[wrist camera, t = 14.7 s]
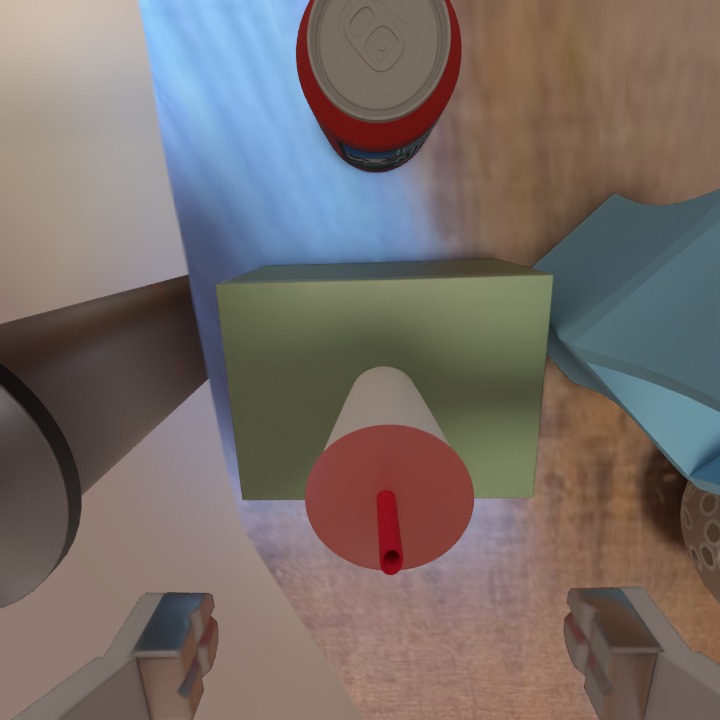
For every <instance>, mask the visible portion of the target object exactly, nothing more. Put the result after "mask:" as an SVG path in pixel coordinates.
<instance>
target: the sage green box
mask: <svg viewBox="0 0 720 720" xmlns="http://www.w3.org/2000/svg"><path fill="white" fill-rule="evenodd" d="M553 277H554V276H553V274H549V273H546V272H543V271H539V270H535V269H532V268H528V267H524V266H521V265H517V264H514V263H510V262H506V261H503V260H499V259H476V260H443V261H410V262H377V263H344V264H311V265H278V266H264V267H261V268H258V269H255V270H253V271H250V272H247V273H245V274H242V275H239V276H237V277H234V278H231V279H228V280H226V281H223V282H221V283H218V284H216V294H217V302H218V310H219V318H220V326H221V334H222V341H223V349H224V357H225V365H226V373H227V381H228V389H229V397H230V405H231V413H232V421H233V429H234V437H235V445H236V452H237V460H238V468H239V476H240V484H241V492H242V499H243V500H305V490H306V484H307V480H308V477H309V474H310V472H311V469H312V467H313V466H314V464H315V462H316V461H317V459H318V458H319V457H320V455H321V454H322V453H323V452H324V449H325V447H326V444H327V442H328V440H329V437H330V435H331V433H332V431H333V428H334V426H335V424H336V421H337V419H338V417H339V415H340V412H341V410H342V408H343V406H344V403H345V401H346V399H347V397H348V395H349V393H350V391H351V389H352V386H353V384H354V383H355V381H356V380H357V378H358V377H359V376H360V375H361V374H363V373H364V372H365V371H367V370H369V369H372V368H375V367H381V366H387V367H393V368H396V369H398V370H400V371H402V372H404V373H405V374H406V375H407V376H408V377H409V378H410V379H411V380H412V382H413V383H414V385H415V387H416V388H417V390H418V391H419V393H420V395H421V396H422V398H423V400H424V401H425V403H426V405H427V407H428V408H429V410H430V412H431V414H432V415H433V417H434V419H435V421H436V422H437V424H438V426H439V428H440V429H441V431H442V433H443V435H444V436H445V438H446V440H447V442H448V444H449V446H450V447H451V448H452V449H453V450H454V451H455V452H456V453H457V454H458V455H459V457H460V458H461V459H462V461H463V462H464V464H465V466H466V468H467V470H468V472H469V474H470V477H471V480H472V484H473V489H474V498H532V497H533V492H534V481H535V470H536V459H537V449H538V438H539V427H540V416H541V406H542V395H543V384H544V373H545V363H546V352H547V341H548V331H549V320H550V309H551V298H552V288H553Z"/></svg>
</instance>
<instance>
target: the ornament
mask: <svg viewBox="0 0 720 720" xmlns="http://www.w3.org/2000/svg"><path fill="white" fill-rule="evenodd" d="M688 489H689V490H688ZM687 491H688V492H687ZM686 493H687V494H686ZM685 495H686V496H685ZM680 514H681V528H682V533H683V537H684V541H685V545H686V548H687V550H688V552H689V555H690V557H691V559H692V561H693V564H694V566H695V568H696V571H697V573H698V574H699V576H700V578H701V580H702V581H703V583H704V585H705V586H706V587H707V589H708V590H709V591H710V593H711V594H712V595H713V596H714V598H715V599H716V600H717V601H718V603H719V604H720V495H717V494H714V493H711V492H708V491H705V490H702V489H699V488H698V487H696V486H695V485H694V484H693V483H691V482H690V481H689V480H688V483H687V485H686V488H685V491H684V494H683V497H682V502H681V513H680ZM683 515H684V516H683ZM684 519H685V521H684ZM696 558H697V559H699V561H700V567H698V564H697V561H696Z"/></svg>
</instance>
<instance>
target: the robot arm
mask: <svg viewBox="0 0 720 720" xmlns="http://www.w3.org/2000/svg"><path fill="white" fill-rule="evenodd" d="M567 604H568V606H569V608H570V610H571V612H570V613H569V614H568V615H567V616H566V617H565V620H564V636H565V643H566V647H567V650H568V653H569V656H570V658H571V661H572V663H573V665H574V667H575V668H576V669H578V670H579V671H580V672H581V673H582V674H584V675H585V676H586V677H585V684H584V689H585V691H586V693H587V695H588V697H589V699H590V701H591V703H592V705H593V707H594V710H595V712H596V714H597V716H598V718H599V720H720V664H718V663H716V662H715V661H713V660H712V659H710V658H709V657H707V656H705V655H704V654H702V653H701V652H692V650H691V649H690V648H689V647H688V645H687V644H686V643H685V641H684V640H683V639H682V638H681V636H680V635H679V634H678V632H677V631H676V630H675V628H674V627H673V626H672V625H671V623H670V622H669V621H668V619H667V618H666V617H665V616H664V614H663V613H662V612H661V610H660V609H659V608H658V606H657V605H656V604H655V603H654V601H653V600H652V599H651V597H650V596H649V595H648V594H647V592H646V591H645V590H644V589H642V588H641V587H616V588H614V587H607V588H571V589H570V591H569V592H568V596H567ZM214 607H215V606H214V600H213V595H212V594H210V593H175V592H174V593H173V592H170V593H169V592H168V593H145V594H144V595H142V596H141V597H140V598H139V600H138V601H137V603H136V605H135V606H134V608H133V609H132V611H131V613H130V614H129V616H128V617H127V619H126V620H125V622H124V624H123V626H122V627H121V629H120V630H119V632H118V634H117V635H116V637H115V638H114V640H113V642H112V643H111V645H110V646H109V648H108V650H107V651H106V653H105V654H104V656H103V657H96V658H94V659H93V660H91V661H90V662H89V663H87V664H86V665H85V666H83V667H82V668H80V669H79V670H78V671H76V672H75V673H74V674H72V675H71V676H70V677H68V678H67V679H66V680H64V681H63V682H62V683H60V684H59V685H58V686H56V687H55V688H53V689H52V690H51V691H49V692H48V693H46V694H45V695H44V696H42V697H41V698H40V699H38V700H37V701H36V702H34V703H33V704H32V705H30V706H29V707H27V708H26V709H25V710H24V711H22V712H21V713H19V714H18V715H17V716H15V717H14V718H12V719H11V720H193V719H194V716H195V713H196V711H197V707H198V705H199V702H200V699H201V697H202V694H203V691H204V688H203V681H202V678H203V677H204V676H205V675H206V674H207V673H208V672H209V671H210V670H211V668H212V666H213V663H214V660H215V657H216V651H217V646H218V625H217V621H216V620H215V619H214V618H213V617H212V616H211V614H212V611H213V609H214Z"/></svg>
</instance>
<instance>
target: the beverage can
mask: <svg viewBox="0 0 720 720" xmlns="http://www.w3.org/2000/svg"><path fill="white" fill-rule="evenodd" d="M296 62H297V71H298V76H299V81H300V84H301V87H302V90H303V93H304V95H305V98H306V100H307V102H308V104H309V106H310V108H311V110H312V112H313V114H314V116H315V118H316V120H317V121H318V123H319V125H320V127H321V129H322V130H323V132H324V134H325V136H326V137H327V139H328V141H329V142H330V144H331V145H332V147H333V148H334V150H335V151H336V152H337V154H338V155H339V156H340V157H341V158H342V159H343V160H345V161H346V162H347V163H349V164H350V165H352V166H354V167H356V168H358V169H361V170H365V171H370V172H383V171H388V170H392V169H394V168H397V167H399V166H401V165H403V164H404V163H406V162H407V161H408V160H410V159H411V158H412V157H413V156H414V155H415V154H416V153H417V151H418V150H419V149H420V147H421V146H422V145H423V143H424V142H425V140H426V139H427V137H428V136H429V134H430V132H431V131H432V129H433V127H434V126H435V124H436V123H437V121H438V119H439V117H440V116H441V114H442V112H443V110H444V108H445V107H446V105H447V103H448V101H449V99H450V97H451V95H452V93H453V91H454V88H455V85H456V82H457V79H458V75H459V70H460V64H461V35H460V29H459V24H458V21H457V17H456V14H455V11H454V9H453V6H452V4H451V2H450V0H310V1H309V3H308V5H307V7H306V9H305V12H304V14H303V17H302V20H301V23H300V27H299V31H298V37H297V45H296Z"/></svg>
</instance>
